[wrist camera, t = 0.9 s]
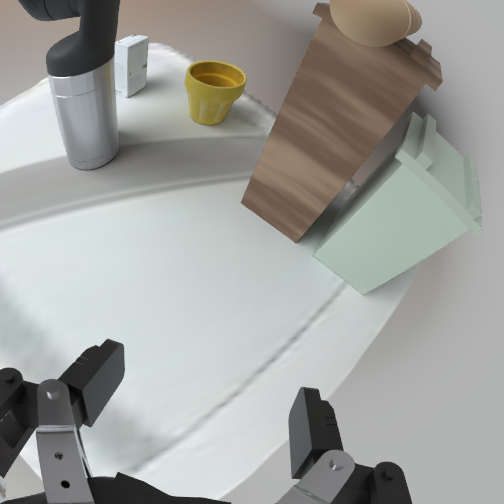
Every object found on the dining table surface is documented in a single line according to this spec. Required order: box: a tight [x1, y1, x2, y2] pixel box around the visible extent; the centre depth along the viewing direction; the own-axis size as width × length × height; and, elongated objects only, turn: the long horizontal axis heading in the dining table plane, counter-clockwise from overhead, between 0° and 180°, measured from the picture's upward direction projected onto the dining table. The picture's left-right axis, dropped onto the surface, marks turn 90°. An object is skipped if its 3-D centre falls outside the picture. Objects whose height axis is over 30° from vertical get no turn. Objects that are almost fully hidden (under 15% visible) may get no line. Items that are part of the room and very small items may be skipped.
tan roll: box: [330, 0, 422, 47], centre depth 15 cm, size 22×4×4 cm, turn 145°
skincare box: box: [115, 34, 149, 98], centre depth 43 cm, size 6×4×12 cm
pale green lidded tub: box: [312, 112, 482, 295], centre depth 34 cm, size 12×12×23 cm
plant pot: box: [185, 60, 247, 125], centre depth 45 cm, size 10×10×10 cm
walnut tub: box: [241, 3, 442, 243], centre depth 31 cm, size 12×12×31 cm
